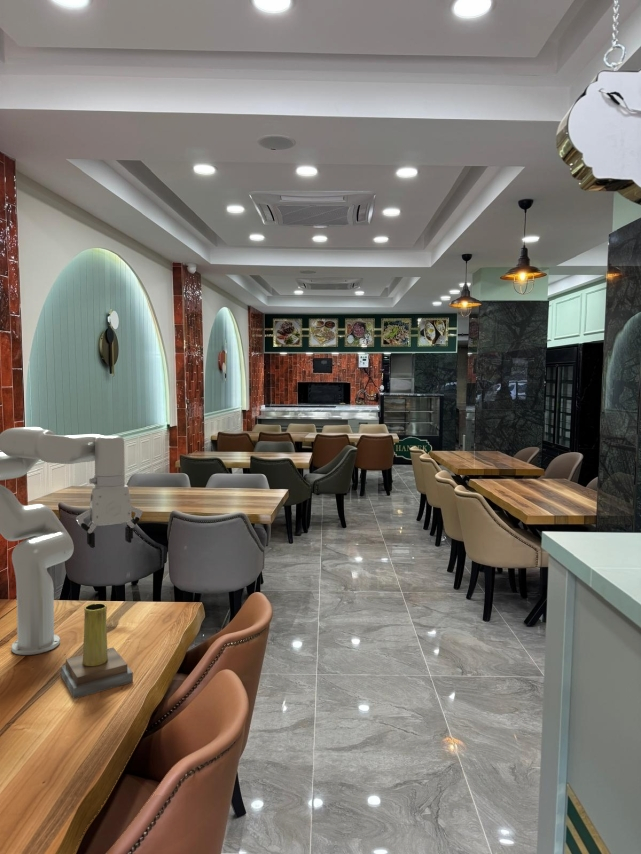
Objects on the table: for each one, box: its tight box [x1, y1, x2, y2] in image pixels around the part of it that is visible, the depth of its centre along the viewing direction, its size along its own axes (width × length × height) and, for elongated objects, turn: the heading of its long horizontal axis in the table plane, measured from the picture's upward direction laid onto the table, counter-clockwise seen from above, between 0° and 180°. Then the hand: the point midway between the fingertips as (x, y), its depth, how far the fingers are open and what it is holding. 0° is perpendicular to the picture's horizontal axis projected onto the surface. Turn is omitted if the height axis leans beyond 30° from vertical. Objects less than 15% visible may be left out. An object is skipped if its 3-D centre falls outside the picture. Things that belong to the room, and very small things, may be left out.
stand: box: [60, 647, 134, 700], centre depth 145 cm, size 14×14×4 cm
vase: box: [82, 602, 108, 667], centre depth 144 cm, size 6×6×14 cm
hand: (110, 544), depth 153 cm, fingers open, 9 cm apart
